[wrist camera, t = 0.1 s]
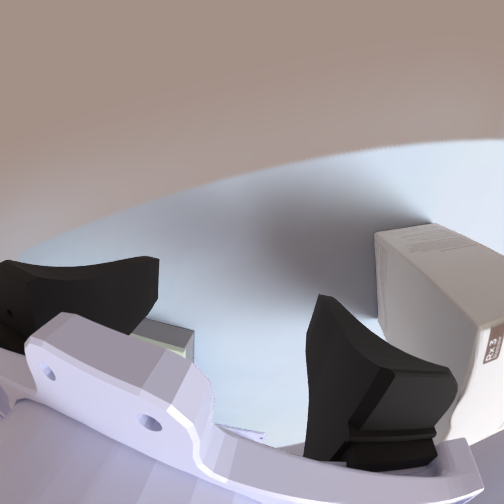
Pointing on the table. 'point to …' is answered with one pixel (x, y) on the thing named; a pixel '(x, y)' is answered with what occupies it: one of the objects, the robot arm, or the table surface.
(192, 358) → the tub
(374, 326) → the table surface
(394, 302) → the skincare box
